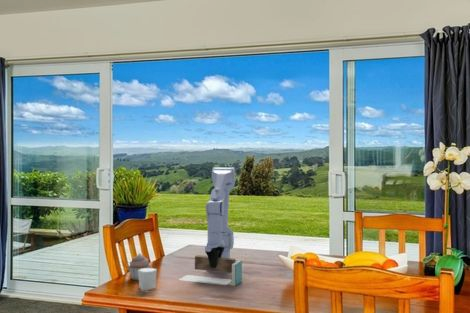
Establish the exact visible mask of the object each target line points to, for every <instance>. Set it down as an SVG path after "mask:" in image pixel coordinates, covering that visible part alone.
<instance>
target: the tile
mask: <svg viewBox="0 0 470 313" xmlns="http://www.w3.org/2000/svg"><path fill="white" fill-rule="evenodd" d="M231 280H232V281H231V286H233V287H236V286H238V285H239V284H241V282H243V261H242V260H235V263H233V264H232V273H231Z"/></svg>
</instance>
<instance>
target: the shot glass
mask: <svg viewBox="0 0 470 313" xmlns="http://www.w3.org/2000/svg"><path fill="white" fill-rule="evenodd" d="M157 272H158V271H157V268H154V267H151V268H141V269H139V270H138V277H139V280H138V284H139V286H138V287H139V290H140V291H144V292H146V291H147V292H149V291H150V290H154V289H155V288H156V281H157Z"/></svg>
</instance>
